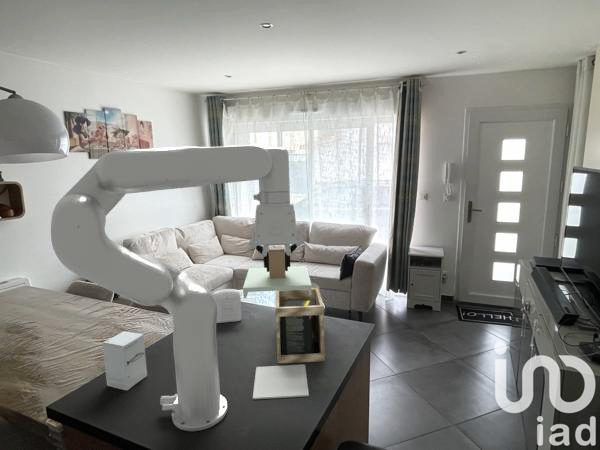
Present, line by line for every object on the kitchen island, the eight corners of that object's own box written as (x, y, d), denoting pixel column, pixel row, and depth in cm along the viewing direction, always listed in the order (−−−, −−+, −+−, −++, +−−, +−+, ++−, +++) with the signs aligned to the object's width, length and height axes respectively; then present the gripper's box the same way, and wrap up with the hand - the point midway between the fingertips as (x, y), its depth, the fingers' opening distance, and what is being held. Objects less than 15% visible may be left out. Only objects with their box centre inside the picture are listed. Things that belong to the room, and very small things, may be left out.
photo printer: (241, 317, 139) (239, 286, 137) (242, 321, 135) (240, 290, 133) (214, 319, 137) (212, 288, 135) (213, 324, 133) (211, 292, 131)
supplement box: (127, 391, 94) (122, 346, 92) (106, 386, 96) (101, 342, 94) (148, 376, 100) (144, 333, 98) (128, 371, 103) (123, 330, 101)
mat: (252, 399, 89) (252, 397, 89) (256, 368, 103) (256, 367, 103) (308, 396, 90) (308, 394, 90) (305, 365, 104) (305, 364, 104)
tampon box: (311, 359, 107) (310, 312, 105) (281, 356, 109) (279, 311, 107) (316, 341, 118) (316, 299, 116) (289, 339, 120) (288, 297, 117)
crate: (277, 363, 105) (275, 308, 103) (277, 337, 121) (276, 289, 118) (324, 361, 106) (324, 306, 103) (319, 336, 122) (318, 288, 119)
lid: (243, 298, 84) (241, 258, 82) (249, 276, 100) (247, 243, 98) (311, 295, 84) (310, 256, 83) (306, 274, 101) (305, 241, 99)
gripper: (239, 201, 85) (243, 275, 87) (309, 198, 85) (311, 273, 88) (242, 198, 92) (245, 267, 95) (307, 196, 93) (308, 264, 96)
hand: (277, 269), depth 92 cm, fingers closed on lid, 4 cm apart
